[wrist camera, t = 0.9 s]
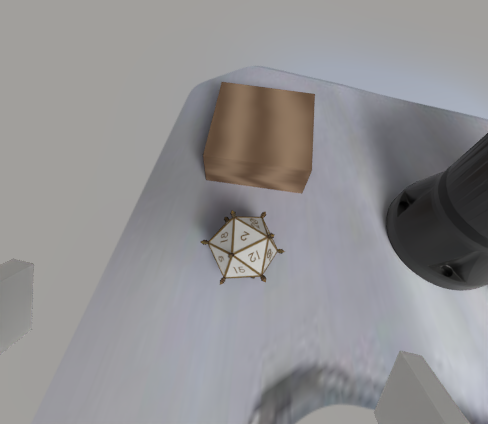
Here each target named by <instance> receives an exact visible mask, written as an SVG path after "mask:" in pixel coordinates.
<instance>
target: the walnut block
mask: <svg viewBox="0 0 488 424" xmlns="http://www.w3.org/2000/svg"><path fill="white" fill-rule="evenodd" d="M314 100H315V94H310V93H303V92H295V91H287V90H280V89H272V88H265V87H257V86H249V85H242V84H234V83H226V82H222V83H221V87H220V91H219V95H218V99H217V103H216V107H215V111H214V115H213V119H212V122H211V126H210V130H209V134H208V138H207V142H206V146H205V150H204V154H203V159H204V167H205V174H206V180H210V181H217V182H224V183H231V184H238V185H246V186H253V187H260V188H267V189H274V190H281V191H288V192H295V193H302V192H303V190H304V188H305V185H306V183H307V181H308V178H309V176H310V173H311V171H312V152H313V126H314Z"/></svg>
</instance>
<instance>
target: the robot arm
mask: <svg viewBox="0 0 488 424" xmlns="http://www.w3.org/2000/svg"><path fill="white" fill-rule="evenodd" d="M387 231H388V235H389V239H390V241H391V244H392V246H393V248H394V249H395V251H396V253H397V254H398V256H399V257H400V258H401V259H402V261H403V262H404V263H405V264H406V265H407V266H408V267H409V268H410V269H411V270H412V271H413V272H415V273H416V274H417V275H419V276H420V277H422V278H423V279H425V280H427V281H428V282H430V283H433V284H435V285H437V286H440V287H443V288H447V289H452V290H471V289H476V288H479V287H482V286H485V285H488V133H487V134H486V135H485V136H484V137H483V138H482V139H481V140H479V141H478V142H477V143H476V144H475V145H474V146H473V147H472V148H471V149H470V150H468V151H467V152H466V153H465V154H464V155H463V156H462V157H460V158H459V159H458V160H457V161H456V162H455V163H454V164H453V165H452V166H450V167H449V168H448V169H447V170H446V171H444V172H442V173H439V174H437V175H434V176H432V177H429V178H427V179H424V180H421V181H419V182H416V183H414V184H412V185H410V186H409V187H407V188H406V189H405V190H404V191H403V192H402V193H401V194H400V195H399V196H398V197H396V198H395V200H394V201H393V202H392V204H391V205H390V208H389V210H388V214H387ZM33 271H34V264H33V263H28V262H24V261H20V260H16V259H12V260H10V261H7V262H5V263H3V264H1V265H0V355H1V354H2V353H3V352H4V351H6V350H7V349H8V348H9V347H10V346H12V345H13V344H14V343H15V342H17V341H18V340H19V339H20V338H22V337H23V336H24V335H25V334H27V333H28V332H29V331H30V330H31V329H32V302H33ZM374 414H375V417H376V419H377V422H378V424H470V423H469V422H468V420H467V419H466V417H465V416H464V415H463V413H462V412H461V410H460V409H459V408H458V406H457V405H456V403H455V402H454V401H453V399H452V398H451V396H450V395H449V393H448V392H447V391H446V389H445V388H444V386H443V385H442V384H441V382H440V381H439V379H438V378H437V377H436V375H435V374H434V372H433V371H432V370H431V368H430V367H429V365H428V364H427V362H426V361H425V360H424V358H423V357H422V356H420V355H416V354H412V353H408V352H403V351H399V354H398V356H397V359H396V361H395V363H394V366H393V368H392V370H391V373H390V375H389V378H388V380H387V382H386V385H385V387H384V390H383V392H382V394H381V397H380V399H379V402H378V404H377V406H376V409H375V411H374Z"/></svg>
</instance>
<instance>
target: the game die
mask: <svg viewBox="0 0 488 424" xmlns="http://www.w3.org/2000/svg"><path fill="white" fill-rule="evenodd" d="M235 213H236V212H234V211H231V216H232V218H231V219H230V220H229V219H228V217H225V219H224V220H225V222H226V223H225V224H224V225H223V226H222V228H221V229H220V230H219V231H218V232H217V233H216V234H215V235H214V236H213V237H212V238H211V239H210V240H209V241H207V240H203V241H201V243H202V244H203V245H204V244H205V245H206V244H208V245H209V247H210V249H211V251H212V253H213V256H214V258H215V260H216V262H217V264H218V266H219V268H220V271H221V273H222V275H223V278H221V280H220V285H221V284H223V283H224V282H225V279H226V278H242V277H251V278H253V279H254V278H255V277H261V279H262V281H264V282H266V278H265V276H264V275H263V274H264V272H265V270H266V269H267V267H268V266H269V264H270V263H271V261H272V259H273V258H274V256H275V255H276V253H277V252H278V253H281V254H282V253H283V252H285V251H283V250H282V249H277V247H276V245H275V243H274V241H273V239H272V238H274V234H272V233H271V234H270V232H269V230H268V228H267V226H266V224H265V222H264V220H263V218H264V217H265V216H266V212H263V213H262V214H261V217H238V216H236V214H235Z"/></svg>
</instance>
